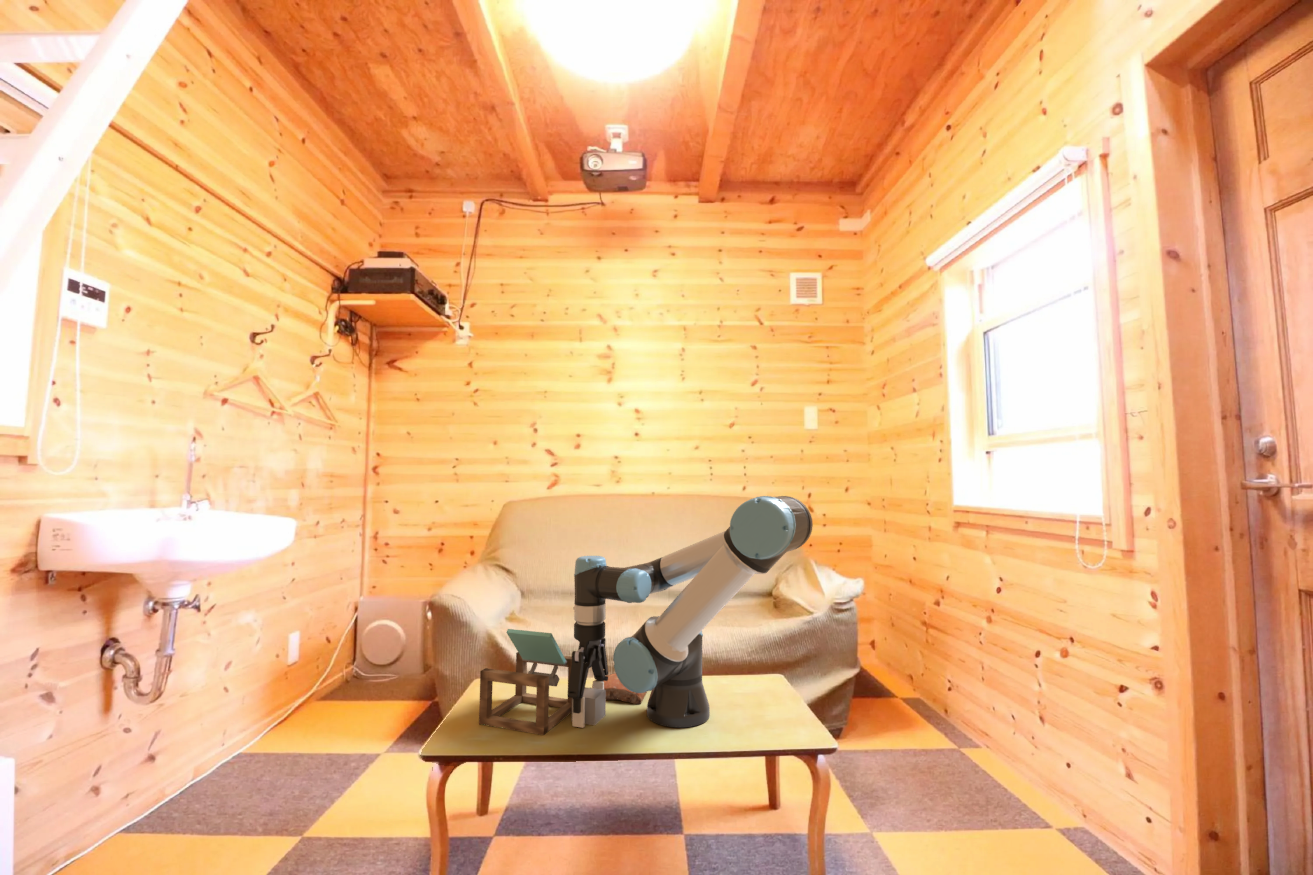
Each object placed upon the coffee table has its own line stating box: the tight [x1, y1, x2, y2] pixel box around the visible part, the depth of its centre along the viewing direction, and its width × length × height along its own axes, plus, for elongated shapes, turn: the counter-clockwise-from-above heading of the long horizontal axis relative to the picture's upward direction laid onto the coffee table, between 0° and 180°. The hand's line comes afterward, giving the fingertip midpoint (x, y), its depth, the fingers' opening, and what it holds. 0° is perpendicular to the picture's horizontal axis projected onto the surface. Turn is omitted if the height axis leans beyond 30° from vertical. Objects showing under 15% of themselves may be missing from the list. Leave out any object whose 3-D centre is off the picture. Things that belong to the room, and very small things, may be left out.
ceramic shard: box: [591, 672, 648, 705], centre depth 151 cm, size 15×6×15 cm
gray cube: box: [571, 686, 607, 726], centre depth 135 cm, size 6×6×6 cm
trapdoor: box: [506, 628, 567, 688], centre depth 139 cm, size 12×15×5 cm
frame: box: [478, 651, 572, 736], centre depth 137 cm, size 17×17×12 cm
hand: (588, 716), depth 134 cm, fingers open, 10 cm apart
